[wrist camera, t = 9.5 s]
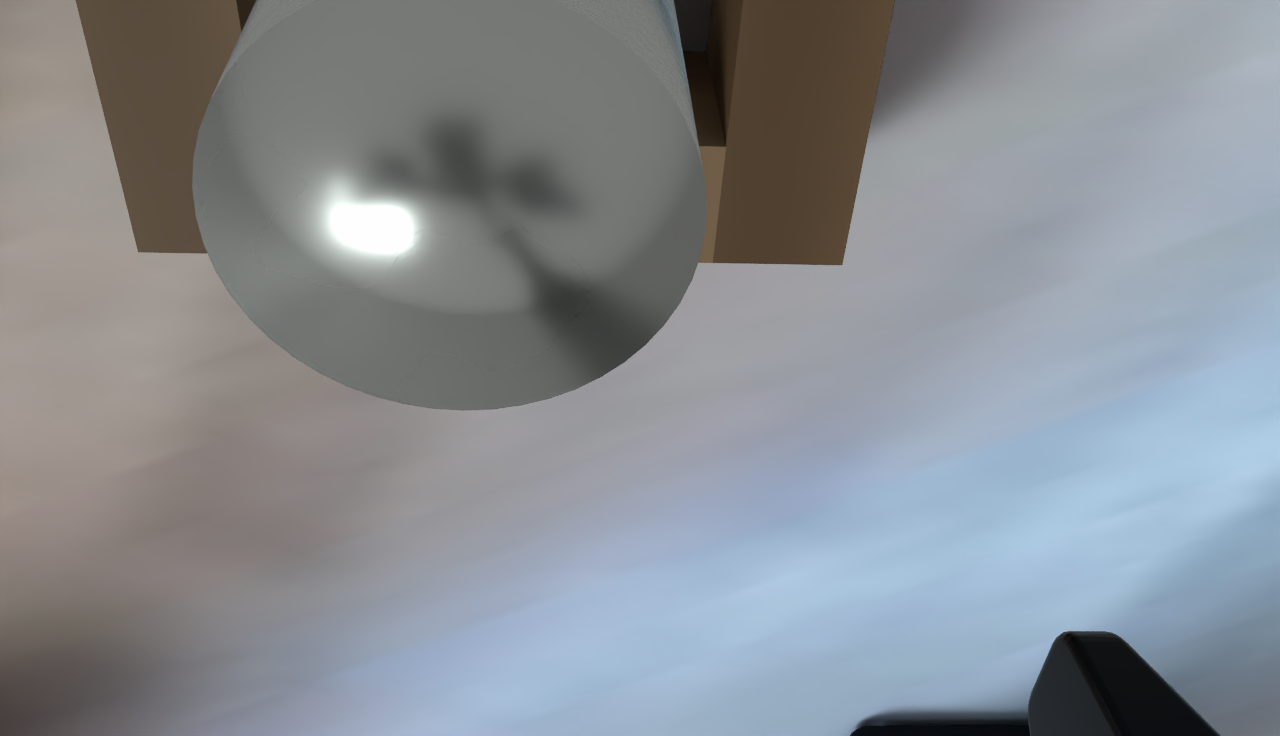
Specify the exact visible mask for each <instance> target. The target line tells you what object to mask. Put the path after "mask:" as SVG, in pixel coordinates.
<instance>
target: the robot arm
mask: <svg viewBox="0 0 1280 736" xmlns="http://www.w3.org/2000/svg"><path fill="white" fill-rule="evenodd" d="M1028 723H1029V725H944V726H869V727H863V728H860V729H857V730H856V731H854V732H853V733H851V735H850V736H1220V735H1219V734H1218V733H1217V732H1216V731H1215V730H1214V729H1213V728H1212V727H1211V726H1210V725H1209V724H1208V723H1207V722H1206V721H1205V720H1204V719H1203V718H1202V717H1201V716H1200V715H1199V714H1198V713H1197V712H1196V711H1195V710H1194V709H1193V708H1192V707H1191V706H1190V705H1189V704H1188V703H1187V702H1186V701H1185V700H1184V699H1183V698H1182V697H1181V696H1180V695H1179V694H1178V693H1177V692H1176V691H1175V690H1174V689H1173V688H1172V687H1171V686H1170V685H1169V684H1168V683H1167V682H1166V681H1165V680H1164V679H1163V678H1162V677H1161V676H1160V675H1159V674H1158V673H1157V672H1156V671H1155V670H1154V669H1153V668H1152V667H1151V666H1150V665H1149V664H1148V663H1147V662H1146V661H1145V660H1144V659H1143V658H1142V657H1141V656H1140V655H1139V654H1138V653H1137V652H1136V651H1135V650H1134V649H1133V648H1132V647H1131V646H1130V645H1129V644H1128V643H1127V642H1126V641H1125V640H1123V639H1122V638H1121V637H1119V636H1117V635H1116V634H1113V633H1110V632H1105V631H1068V632H1063V633H1062V634H1061V635H1059V636H1058V637H1057V638H1056V639H1055V641H1054V643H1053V644H1052V647H1051V649H1050V651H1049V654H1048V656H1047V658H1046V660H1045V663H1044V665H1043V667H1042V669H1041V672H1040V674H1039V676H1038V679H1037V681H1036V683H1035V685H1034V688H1033V690H1032V692H1031V696H1030V699H1029V705H1028Z"/></svg>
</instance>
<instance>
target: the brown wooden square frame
mask: <svg viewBox="0 0 1280 736" xmlns="http://www.w3.org/2000/svg"><path fill="white" fill-rule="evenodd" d="M255 2H256V0H76V3H77V7H78V11H79V15H80V19H81V23H82V27H83V31H84V35H85V39H86V43H87V47H88V51H89V55H90V60H91V64H92V68H93V72H94V76H95V80H96V84H97V88H98V92H99V96H100V100H101V104H102V108H103V112H104V116H105V120H106V124H107V128H108V132H109V136H110V140H111V144H112V148H113V152H114V156H115V160H116V164H117V168H118V172H119V176H120V180H121V184H122V188H123V192H124V196H125V200H126V204H127V208H128V213H129V217H130V221H131V225H132V229H133V233H134V237H135V241H136V245H137V249H138V252H159V253H207V250H206V248H205V246H204V243H203V240H202V236H201V233H200V229H199V226H198V222H197V219H196V214H195V206H194V198H193V190H192V181H193V157H194V152H195V147H196V142H197V137H198V132H199V128H200V126H201V123H202V120H203V118H204V115H205V113H206V110H207V107H208V105H209V102H210V100H211V98H212V95H213V93H214V91H215V89H216V87H217V84H218V82H219V80H220V78H221V76H222V74H223V71H224V69H225V67H226V65H227V63H228V61H229V58H230V56H231V54H232V52H233V50H234V47H235V45H236V43H237V41H238V39H239V37H240V34H241V32H242V30H243V28H244V26H245V24H246V21H247V19H248V17H249V15H250V13H251V10H252V8H253V6H254V4H255ZM894 2H895V0H712V5H711V15H710V25H709V35H708V45H707V52H683V56H684V62H685V68H686V74H687V79H688V85H689V91H690V97H691V102H692V108H693V114H694V120H695V126H696V131H697V137H698V143H699V149H700V154H701V160H702V166H703V172H704V180H705V188H706V197H707V211H706V230H705V235H704V241H703V246H702V251H701V255H700V258H699V261H698V262H700V263H754V264H808V265H842V263H843V258H844V253H845V248H846V243H847V238H848V233H849V228H850V223H851V218H852V213H853V208H854V203H855V198H856V193H857V188H858V183H859V178H860V173H861V168H862V163H863V158H864V153H865V148H866V143H867V138H868V133H869V128H870V123H871V118H872V113H873V108H874V103H875V98H876V93H877V88H878V83H879V78H880V73H881V68H882V63H883V58H884V53H885V47H886V42H887V37H888V32H889V27H890V22H891V17H892V12H893V7H894Z"/></svg>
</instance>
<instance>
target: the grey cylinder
mask: <svg viewBox="0 0 1280 736" xmlns="http://www.w3.org/2000/svg"><path fill="white" fill-rule="evenodd" d="M192 190H193V198H194V206H195V214H196V219H197V222H198V226H199V229H200V233H201V236H202V240H203V243H204V246H205V248H206V250H207V253H208V255H209V257H210V259H211V262H212V264H213V266H214V268H215V271H216V272H217V274H218V276H219V277H220V279H221V280H222V282H223V284H224V285H225V287H226V289H227V290H228V292H229V293H230V295H231V296H232V298H233V299H234V300H235V301H236V303H237V304H238V305H239V306H240V308H241V309H242V310H243V311H244V312H245V314H246V315H247V316H248V317H249V319H250V320H251V321H252V322H253V323H254V324H256V325H257V326H258V327H259V328H260V329H261V330H262V331H263V332H264V333H265V334H266V335H267V336H268V337H269V338H270V339H271V340H272V341H274V342H275V343H276V344H277V345H279V346H280V347H281V348H283V349H284V350H285V351H287V352H288V353H289V354H290V355H292V356H293V357H294V358H296V359H297V360H299V361H301V362H302V363H304V364H306V365H307V366H309V367H311V368H312V369H314V370H315V371H317V372H319V373H320V374H322V375H325V376H327V377H329V378H331V379H333V380H335V381H337V382H339V383H341V384H343V385H345V386H348V387H350V388H353V389H356V390H359V391H361V392H364V393H367V394H370V395H372V396H375V397H379V398H383V399H387V400H391V401H394V402H398V403H402V404H407V405H414V406H420V407H427V408H433V409H449V410H485V409H498V408H505V407H512V406H520V405H525V404H529V403H533V402H537V401H541V400H545V399H549V398H552V397H555V396H558V395H561V394H563V393H566V392H569V391H572V390H575V389H577V388H579V387H581V386H583V385H585V384H587V383H589V382H591V381H594V380H596V379H598V378H600V377H602V376H603V375H605V374H606V373H608V372H609V371H611V370H613V369H614V368H616V367H617V366H619V365H620V364H622V363H624V362H625V361H626V360H627V359H629V358H630V357H631V356H632V355H634V354H635V353H636V352H637V351H638V350H640V349H641V348H642V347H643V346H645V345H646V344H647V343H648V342H649V340H650V339H651V338H652V337H653V336H654V335H655V334H656V333H657V332H658V331H659V330H660V329H661V328H662V327H663V326H664V324H665V323H666V322H667V320H668V319H669V317H670V316H671V315H672V313H673V312H674V310H675V309H676V308H677V306H678V305H679V304H680V302H681V300H682V298H683V296H684V294H685V292H686V290H687V288H688V286H689V285H690V283H691V281H692V278H693V275H694V273H695V270H696V267H697V264H698V261H699V258H700V255H701V251H702V246H703V241H704V235H705V230H706V211H707V197H706V188H705V180H704V172H703V166H702V160H701V154H700V149H699V143H698V137H697V131H696V126H695V120H694V114H693V108H692V102H691V97H690V91H689V85H688V79H687V74H686V68H685V62H684V56H683V50H682V45H681V39H680V33H679V27H678V22H677V16H676V10H675V4H674V0H256V2H255V4H254V6H253V8H252V10H251V13H250V15H249V17H248V19H247V21H246V24H245V26H244V28H243V30H242V32H241V34H240V37H239V39H238V41H237V43H236V45H235V47H234V50H233V52H232V54H231V56H230V58H229V61H228V63H227V65H226V67H225V69H224V71H223V74H222V76H221V78H220V80H219V82H218V84H217V87H216V89H215V91H214V93H213V95H212V98H211V100H210V102H209V105H208V107H207V110H206V113H205V115H204V118H203V120H202V123H201V126H200V128H199V132H198V137H197V142H196V147H195V152H194V157H193V181H192Z"/></svg>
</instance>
